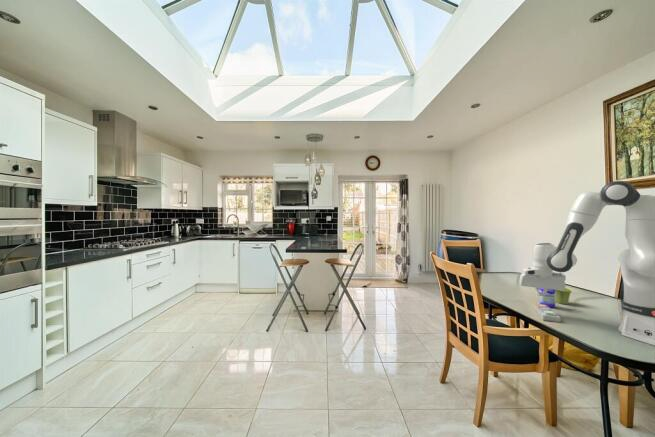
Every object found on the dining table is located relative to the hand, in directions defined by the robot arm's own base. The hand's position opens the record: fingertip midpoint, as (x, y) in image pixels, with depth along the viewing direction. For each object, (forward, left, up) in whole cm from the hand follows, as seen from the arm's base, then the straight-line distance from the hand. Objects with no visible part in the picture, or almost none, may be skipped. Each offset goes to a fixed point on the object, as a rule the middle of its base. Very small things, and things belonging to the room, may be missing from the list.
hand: (541, 295), depth 147 cm
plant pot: (+12, -26, -10) cm, 30 cm away
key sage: (-9, +5, -7) cm, 12 cm away
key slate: (-5, +2, -7) cm, 9 cm away
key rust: (-1, 0, -7) cm, 7 cm away
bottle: (+8, -12, -10) cm, 17 cm away
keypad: (-5, +2, -9) cm, 11 cm away
